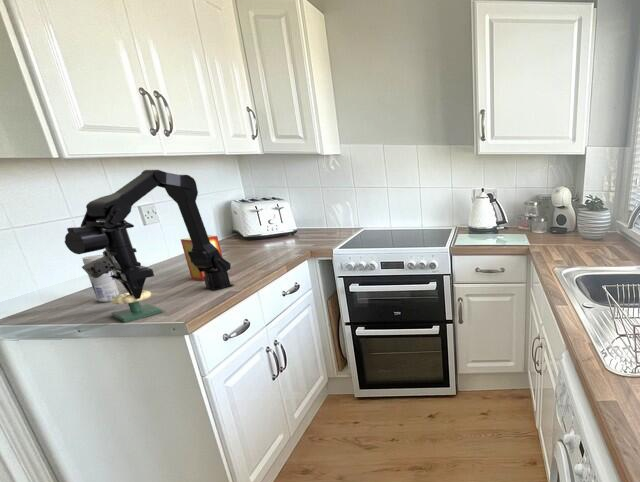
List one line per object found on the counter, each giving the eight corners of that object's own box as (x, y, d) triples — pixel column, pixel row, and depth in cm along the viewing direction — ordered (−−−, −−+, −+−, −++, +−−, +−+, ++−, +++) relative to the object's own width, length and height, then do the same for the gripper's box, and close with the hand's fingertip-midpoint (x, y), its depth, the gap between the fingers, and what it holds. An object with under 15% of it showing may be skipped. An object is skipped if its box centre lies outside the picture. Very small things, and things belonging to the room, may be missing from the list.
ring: (145, 294, 130) (142, 288, 129) (156, 297, 126) (154, 291, 125) (107, 303, 123) (105, 297, 122) (119, 306, 118) (116, 299, 118)
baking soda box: (203, 280, 159) (191, 239, 153) (191, 279, 161) (180, 238, 156) (226, 274, 167) (216, 235, 162) (215, 272, 169) (205, 234, 164)
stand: (149, 307, 132) (142, 289, 129) (161, 312, 127) (155, 293, 125) (112, 316, 124) (105, 297, 122) (124, 322, 120) (117, 302, 118)
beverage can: (125, 297, 141) (110, 254, 136) (108, 302, 136) (92, 258, 131) (110, 296, 142) (94, 254, 136) (93, 302, 136) (76, 258, 131)
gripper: (67, 248, 115) (88, 300, 120) (92, 255, 106) (113, 312, 111) (119, 240, 124) (135, 290, 129) (146, 247, 115) (162, 300, 120)
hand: (136, 298), depth 122 cm, fingers closed on ring, 2 cm apart
